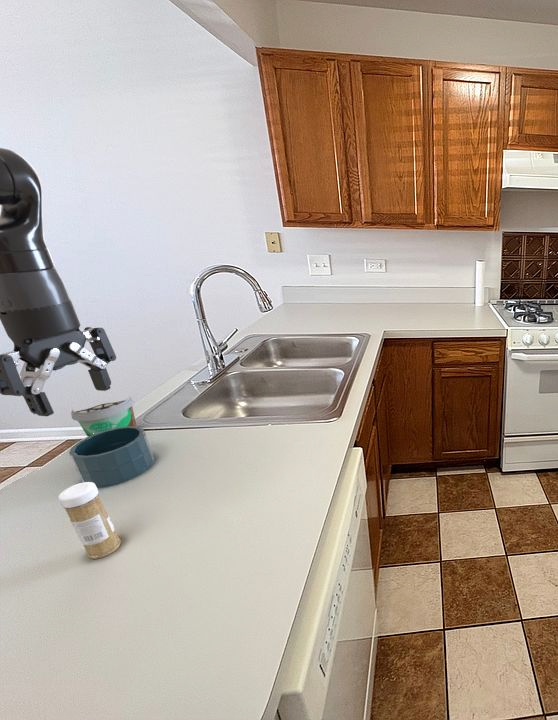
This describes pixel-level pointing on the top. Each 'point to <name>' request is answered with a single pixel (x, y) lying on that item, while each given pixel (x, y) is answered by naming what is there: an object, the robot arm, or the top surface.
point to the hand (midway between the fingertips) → (76, 401)
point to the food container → (106, 416)
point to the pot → (112, 456)
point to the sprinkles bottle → (90, 519)
